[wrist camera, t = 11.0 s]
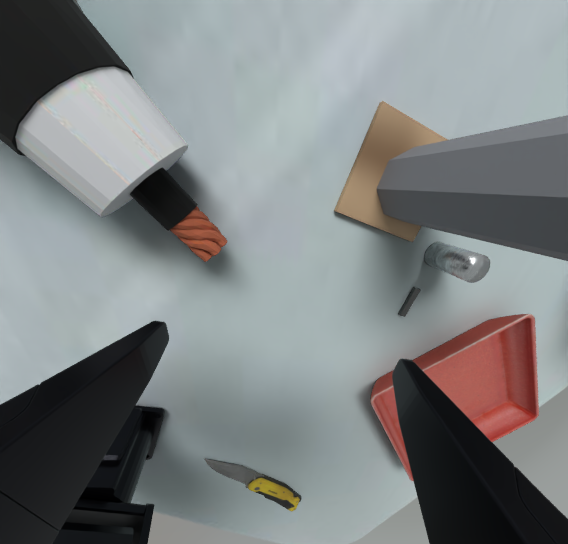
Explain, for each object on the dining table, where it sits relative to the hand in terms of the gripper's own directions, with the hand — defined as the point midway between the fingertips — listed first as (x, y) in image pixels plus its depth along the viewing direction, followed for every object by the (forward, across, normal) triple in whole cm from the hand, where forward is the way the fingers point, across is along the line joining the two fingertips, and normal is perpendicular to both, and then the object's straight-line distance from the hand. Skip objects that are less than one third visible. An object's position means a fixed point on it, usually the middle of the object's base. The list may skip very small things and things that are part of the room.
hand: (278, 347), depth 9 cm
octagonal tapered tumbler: (+14, -8, -4) cm, 16 cm away
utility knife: (+5, +1, +30) cm, 30 cm away
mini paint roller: (+14, -12, +4) cm, 18 cm away
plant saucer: (+14, -20, +18) cm, 30 cm away
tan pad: (+14, -7, -5) cm, 16 cm away
